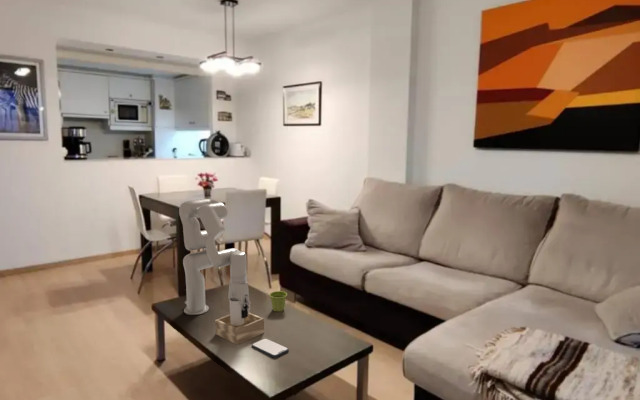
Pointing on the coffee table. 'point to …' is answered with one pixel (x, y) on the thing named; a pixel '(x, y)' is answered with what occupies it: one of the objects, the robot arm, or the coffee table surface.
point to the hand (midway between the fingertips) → (239, 314)
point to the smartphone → (270, 348)
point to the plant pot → (278, 300)
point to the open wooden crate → (240, 328)
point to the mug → (236, 313)
